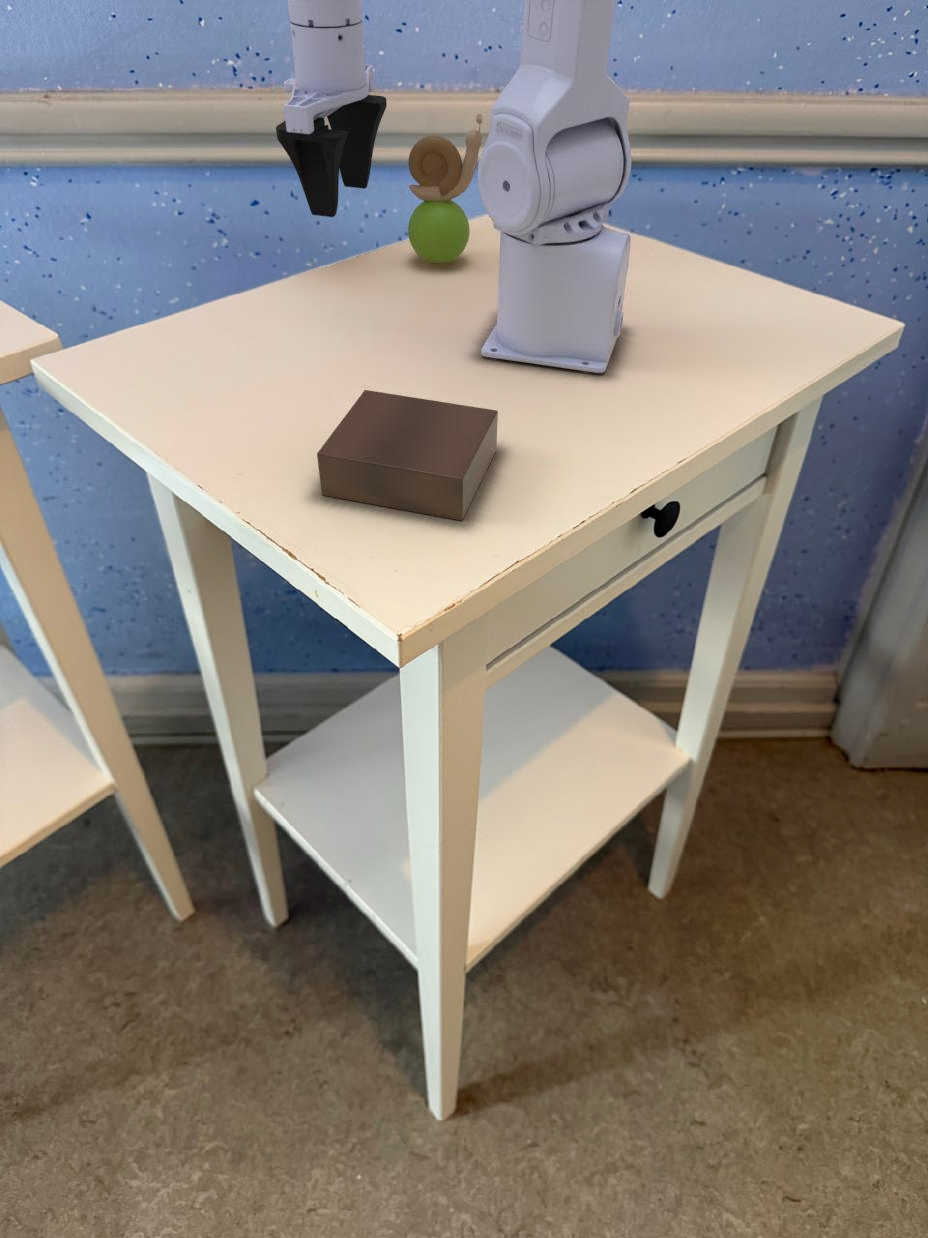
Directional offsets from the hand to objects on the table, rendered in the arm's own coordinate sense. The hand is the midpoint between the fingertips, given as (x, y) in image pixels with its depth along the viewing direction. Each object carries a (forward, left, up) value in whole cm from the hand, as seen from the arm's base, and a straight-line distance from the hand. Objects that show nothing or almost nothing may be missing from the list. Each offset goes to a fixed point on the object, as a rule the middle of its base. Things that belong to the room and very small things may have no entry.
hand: (340, 200), depth 81 cm
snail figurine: (-10, 0, -4) cm, 11 cm away
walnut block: (-18, +33, -4) cm, 38 cm away
